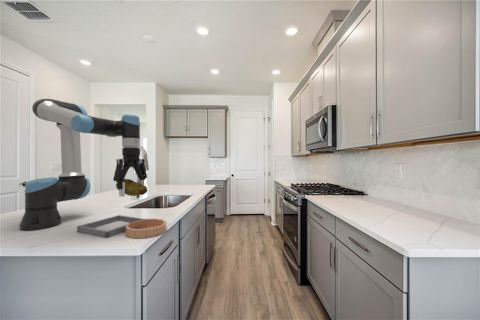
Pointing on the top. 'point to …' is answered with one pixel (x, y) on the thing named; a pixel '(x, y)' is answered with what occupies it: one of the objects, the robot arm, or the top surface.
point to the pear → (133, 188)
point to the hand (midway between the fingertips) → (131, 194)
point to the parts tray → (91, 229)
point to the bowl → (145, 228)
